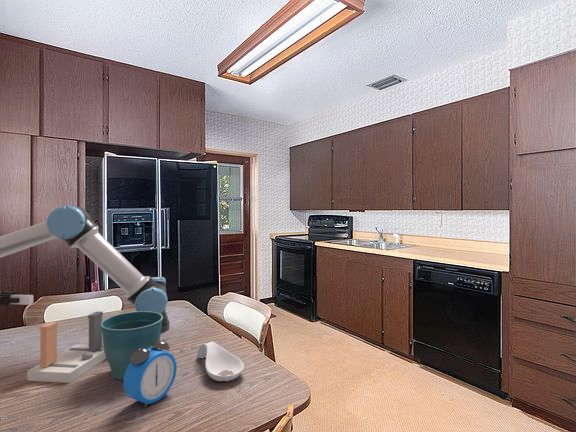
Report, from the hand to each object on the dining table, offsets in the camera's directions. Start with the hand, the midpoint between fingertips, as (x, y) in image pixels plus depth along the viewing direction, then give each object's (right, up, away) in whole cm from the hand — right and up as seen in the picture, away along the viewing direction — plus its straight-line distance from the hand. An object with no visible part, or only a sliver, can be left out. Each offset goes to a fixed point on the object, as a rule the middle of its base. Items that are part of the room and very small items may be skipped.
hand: (31, 299), depth 103 cm
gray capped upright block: (+14, -20, +11) cm, 27 cm away
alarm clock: (+44, -24, -14) cm, 52 cm away
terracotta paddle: (+6, -20, 0) cm, 21 cm away
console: (+10, -24, +5) cm, 26 cm away
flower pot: (+32, -24, +2) cm, 40 cm away
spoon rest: (+58, -24, +3) cm, 63 cm away
